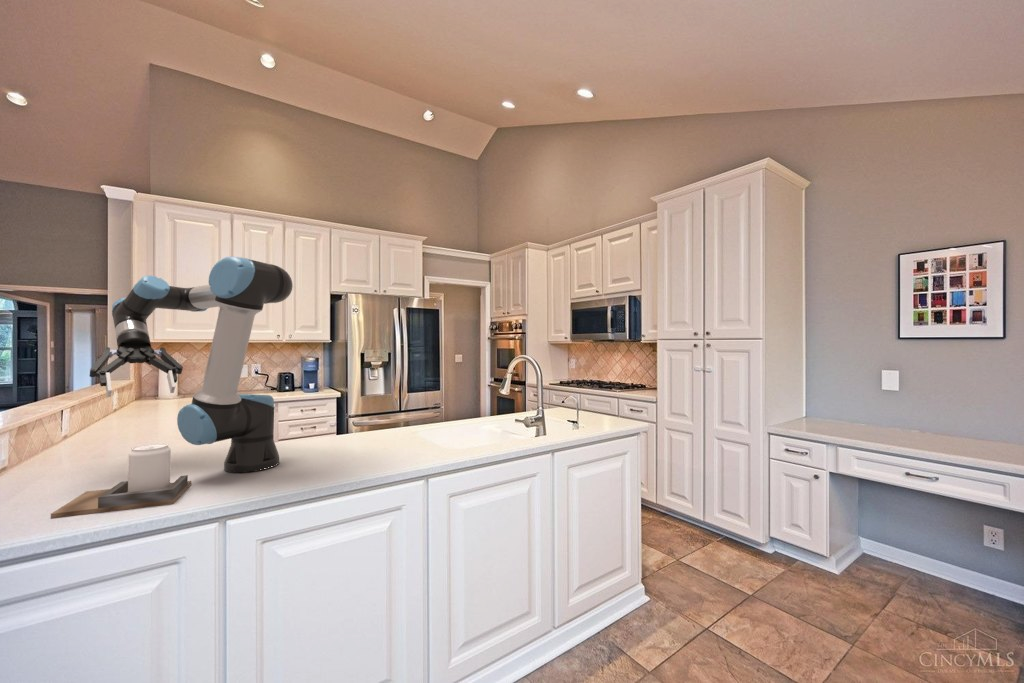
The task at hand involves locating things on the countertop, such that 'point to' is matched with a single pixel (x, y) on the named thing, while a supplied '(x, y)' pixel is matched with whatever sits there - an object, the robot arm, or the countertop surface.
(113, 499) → the keeper
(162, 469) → the beverage can
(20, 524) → the countertop surface
